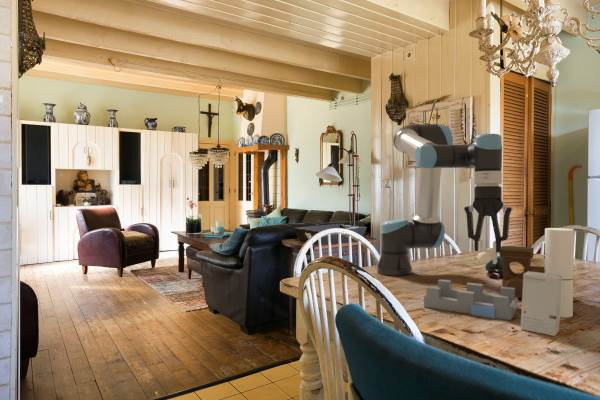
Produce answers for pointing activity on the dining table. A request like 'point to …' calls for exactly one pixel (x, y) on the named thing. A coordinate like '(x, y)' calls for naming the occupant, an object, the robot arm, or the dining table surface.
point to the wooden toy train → (520, 256)
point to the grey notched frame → (472, 300)
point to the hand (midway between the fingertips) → (487, 262)
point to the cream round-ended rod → (485, 256)
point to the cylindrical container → (561, 263)
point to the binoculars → (495, 268)
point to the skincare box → (541, 303)
